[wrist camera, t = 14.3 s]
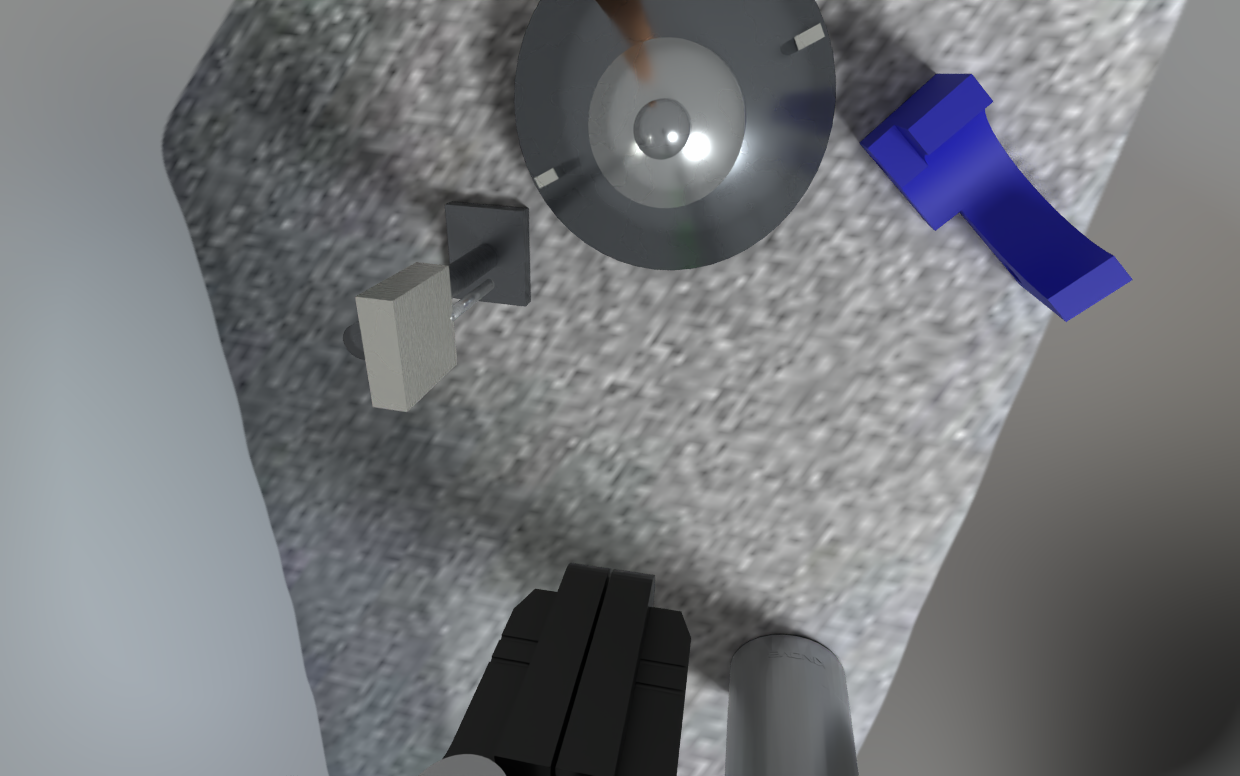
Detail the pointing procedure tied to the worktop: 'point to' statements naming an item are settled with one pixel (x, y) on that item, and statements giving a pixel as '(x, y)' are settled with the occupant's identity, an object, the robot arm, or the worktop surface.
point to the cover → (667, 122)
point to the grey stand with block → (439, 302)
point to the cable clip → (988, 194)
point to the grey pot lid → (773, 141)
